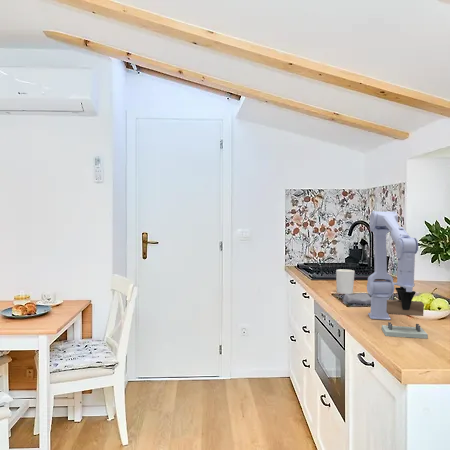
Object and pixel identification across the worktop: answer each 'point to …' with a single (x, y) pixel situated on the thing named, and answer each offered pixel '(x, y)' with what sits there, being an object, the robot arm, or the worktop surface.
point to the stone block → (358, 298)
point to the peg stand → (404, 331)
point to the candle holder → (345, 281)
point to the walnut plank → (397, 309)
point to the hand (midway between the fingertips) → (404, 308)
